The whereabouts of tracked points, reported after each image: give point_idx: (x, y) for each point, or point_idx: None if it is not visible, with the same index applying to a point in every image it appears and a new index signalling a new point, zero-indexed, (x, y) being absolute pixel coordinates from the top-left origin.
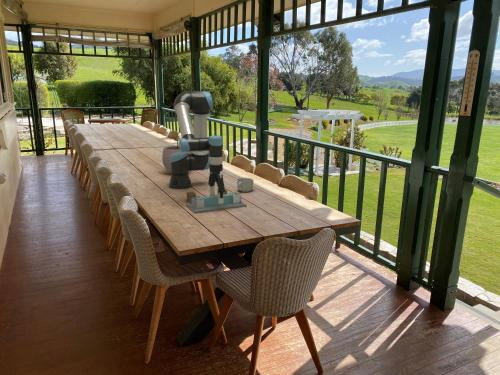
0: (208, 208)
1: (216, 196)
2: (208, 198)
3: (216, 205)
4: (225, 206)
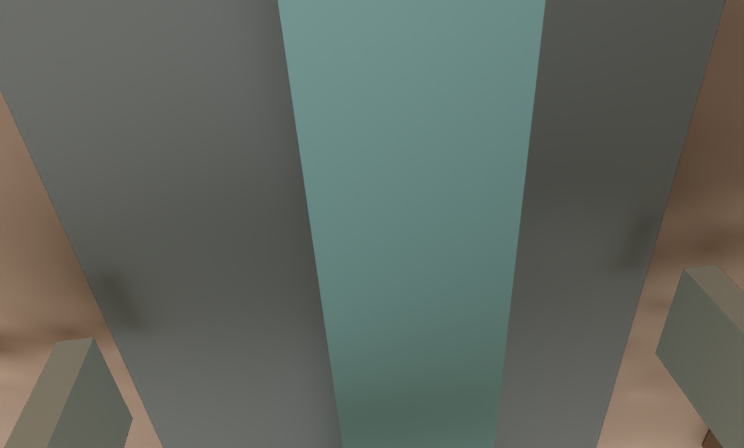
0: (112, 33)
1: (384, 435)
2: (307, 201)
3: None
4: (204, 379)
